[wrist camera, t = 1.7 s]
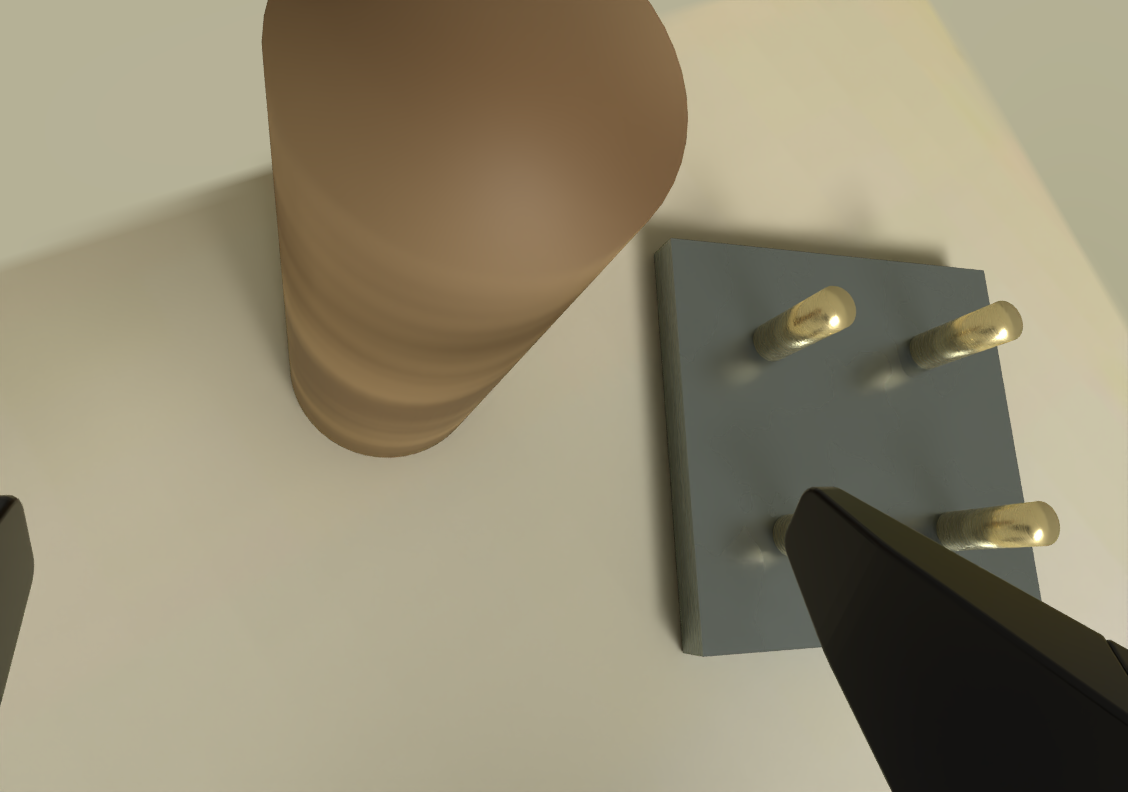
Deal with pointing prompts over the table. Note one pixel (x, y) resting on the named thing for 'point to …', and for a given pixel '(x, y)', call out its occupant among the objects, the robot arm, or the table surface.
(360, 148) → the walnut post
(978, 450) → the plate
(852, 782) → the table surface
